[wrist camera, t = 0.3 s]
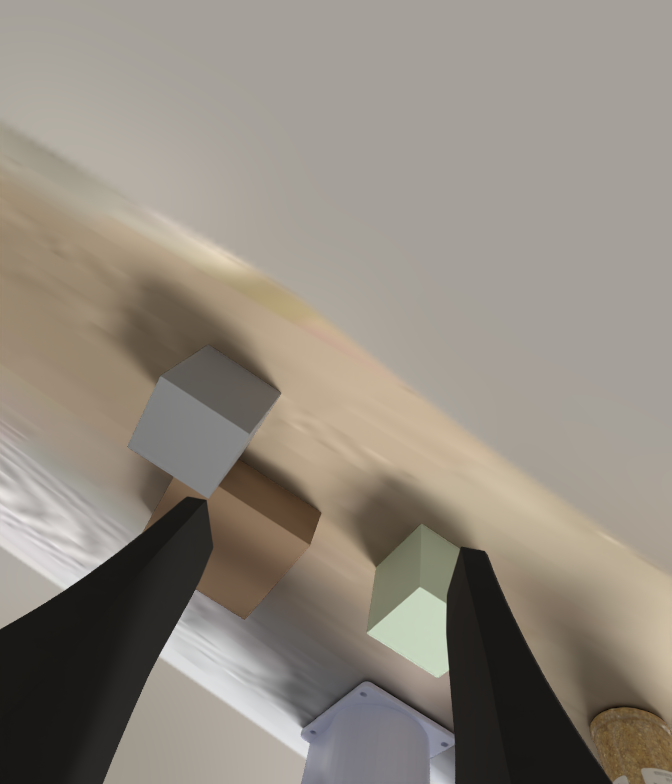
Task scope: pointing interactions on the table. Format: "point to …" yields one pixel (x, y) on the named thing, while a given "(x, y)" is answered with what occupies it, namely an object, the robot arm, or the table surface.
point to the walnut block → (247, 535)
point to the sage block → (414, 599)
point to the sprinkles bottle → (633, 746)
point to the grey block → (202, 418)
